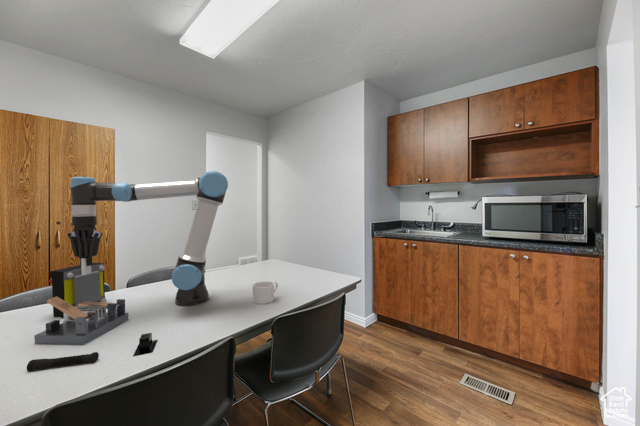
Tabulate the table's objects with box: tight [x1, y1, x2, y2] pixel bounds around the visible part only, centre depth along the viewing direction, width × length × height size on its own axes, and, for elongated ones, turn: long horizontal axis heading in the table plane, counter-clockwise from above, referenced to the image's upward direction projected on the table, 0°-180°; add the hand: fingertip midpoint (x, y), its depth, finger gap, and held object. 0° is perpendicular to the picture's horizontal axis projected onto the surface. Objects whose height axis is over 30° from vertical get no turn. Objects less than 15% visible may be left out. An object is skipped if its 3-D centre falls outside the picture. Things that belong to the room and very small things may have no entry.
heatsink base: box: [33, 298, 130, 346], centre depth 102 cm, size 18×20×9 cm
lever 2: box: [78, 301, 117, 310], centre depth 109 cm, size 14×3×1 cm, turn 87°
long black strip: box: [26, 351, 100, 372], centre depth 80 cm, size 3×16×3 cm, turn 104°
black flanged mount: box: [132, 332, 159, 358], centre depth 90 cm, size 12×7×5 cm, turn 22°
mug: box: [252, 281, 279, 305], centre depth 134 cm, size 13×10×8 cm
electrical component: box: [48, 262, 107, 319], centre depth 124 cm, size 18×10×20 cm, turn 168°
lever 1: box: [46, 296, 89, 320], centre depth 96 cm, size 14×3×1 cm, turn 88°
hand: (86, 273), depth 109 cm, fingers closed
